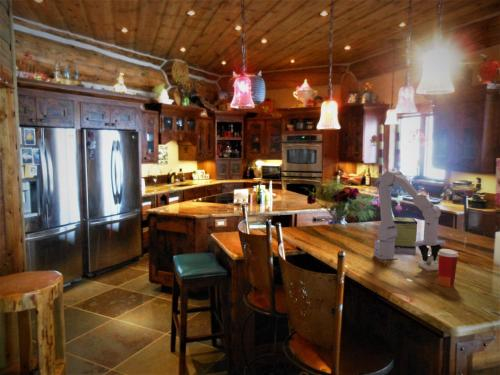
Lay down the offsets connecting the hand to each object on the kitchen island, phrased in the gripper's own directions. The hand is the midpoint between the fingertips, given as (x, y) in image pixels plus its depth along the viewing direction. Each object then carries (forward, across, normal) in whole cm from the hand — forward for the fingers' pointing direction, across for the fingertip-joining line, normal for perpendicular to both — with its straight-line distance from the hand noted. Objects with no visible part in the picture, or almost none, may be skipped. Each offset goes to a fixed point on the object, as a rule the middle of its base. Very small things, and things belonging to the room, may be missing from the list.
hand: (428, 260), depth 179 cm
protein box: (+4, +8, +38) cm, 39 cm away
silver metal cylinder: (+2, 0, 0) cm, 2 cm away
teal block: (+3, +6, +7) cm, 10 cm away
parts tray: (+3, +3, 0) cm, 5 cm away
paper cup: (+4, -6, -20) cm, 22 cm away
